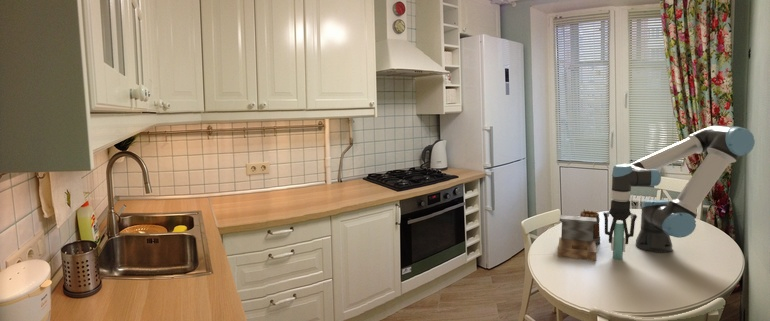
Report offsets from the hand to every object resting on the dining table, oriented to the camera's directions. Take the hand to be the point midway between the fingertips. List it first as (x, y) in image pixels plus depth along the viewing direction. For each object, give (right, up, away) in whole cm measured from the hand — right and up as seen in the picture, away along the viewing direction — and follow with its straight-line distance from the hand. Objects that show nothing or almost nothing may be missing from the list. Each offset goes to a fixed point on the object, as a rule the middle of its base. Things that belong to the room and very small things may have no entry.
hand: (617, 250), depth 203 cm
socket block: (-15, -3, +9) cm, 17 cm away
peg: (0, -4, +1) cm, 4 cm away
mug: (-2, 0, +25) cm, 25 cm away
